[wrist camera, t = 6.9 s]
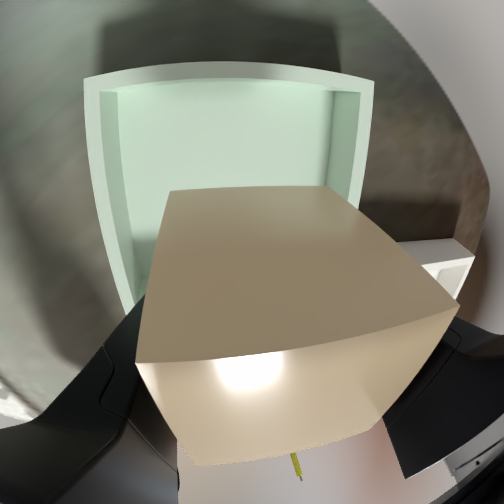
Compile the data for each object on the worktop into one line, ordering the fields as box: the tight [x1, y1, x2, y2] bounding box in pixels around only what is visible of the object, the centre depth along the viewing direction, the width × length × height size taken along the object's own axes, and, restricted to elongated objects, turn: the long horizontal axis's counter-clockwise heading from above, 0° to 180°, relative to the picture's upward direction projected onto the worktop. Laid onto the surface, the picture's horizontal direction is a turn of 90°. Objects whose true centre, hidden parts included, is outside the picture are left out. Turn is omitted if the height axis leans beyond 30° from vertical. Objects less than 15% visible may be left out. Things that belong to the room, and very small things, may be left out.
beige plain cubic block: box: [135, 186, 460, 466], centre depth 7 cm, size 5×5×6 cm
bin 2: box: [397, 238, 475, 299], centre depth 24 cm, size 14×14×4 cm
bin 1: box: [84, 61, 374, 315], centre depth 15 cm, size 14×14×4 cm
